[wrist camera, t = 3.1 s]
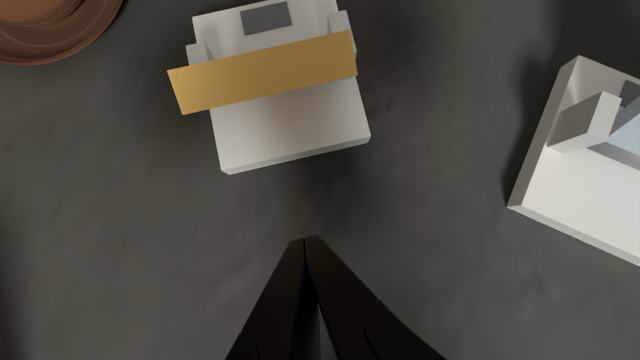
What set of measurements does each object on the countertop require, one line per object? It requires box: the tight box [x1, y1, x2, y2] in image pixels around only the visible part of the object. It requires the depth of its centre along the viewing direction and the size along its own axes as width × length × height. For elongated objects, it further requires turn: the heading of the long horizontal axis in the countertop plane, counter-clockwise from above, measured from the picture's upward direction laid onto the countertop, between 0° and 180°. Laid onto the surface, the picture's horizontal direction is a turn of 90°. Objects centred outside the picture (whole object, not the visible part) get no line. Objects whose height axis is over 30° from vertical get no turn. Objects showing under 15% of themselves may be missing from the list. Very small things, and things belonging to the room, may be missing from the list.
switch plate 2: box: [506, 55, 640, 266], centre depth 19 cm, size 10×9×5 cm
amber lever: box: [167, 30, 358, 115], centre depth 15 cm, size 1×6×12 cm, turn 103°
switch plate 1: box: [186, 0, 371, 175], centre depth 20 cm, size 10×9×5 cm
